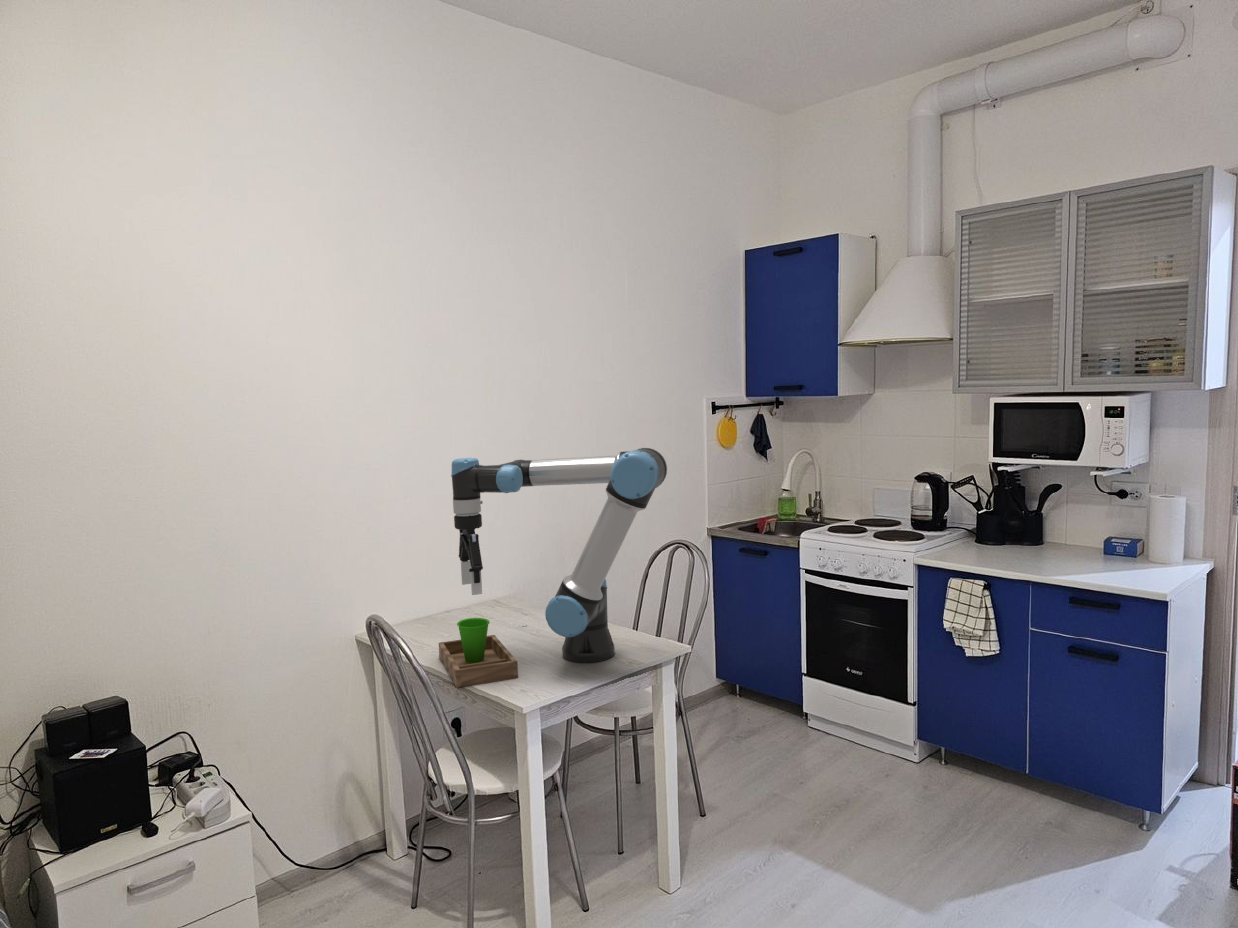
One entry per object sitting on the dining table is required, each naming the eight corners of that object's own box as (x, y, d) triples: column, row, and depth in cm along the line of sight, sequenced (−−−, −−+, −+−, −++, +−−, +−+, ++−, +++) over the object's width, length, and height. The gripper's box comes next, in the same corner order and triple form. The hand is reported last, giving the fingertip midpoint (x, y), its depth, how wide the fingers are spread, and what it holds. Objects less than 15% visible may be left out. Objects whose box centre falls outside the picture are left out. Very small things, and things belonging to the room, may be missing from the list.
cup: (484, 666, 225) (483, 627, 224) (453, 664, 227) (452, 626, 225) (494, 655, 234) (493, 618, 233) (464, 654, 235) (463, 617, 234)
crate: (518, 677, 218) (517, 661, 217) (456, 687, 212) (455, 670, 211) (495, 649, 242) (494, 634, 242) (439, 657, 236) (438, 642, 236)
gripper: (491, 518, 216) (495, 596, 218) (471, 507, 239) (475, 578, 241) (463, 521, 213) (467, 600, 215) (446, 509, 236) (450, 581, 238)
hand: (471, 589), depth 228 cm, fingers open, 13 cm apart
